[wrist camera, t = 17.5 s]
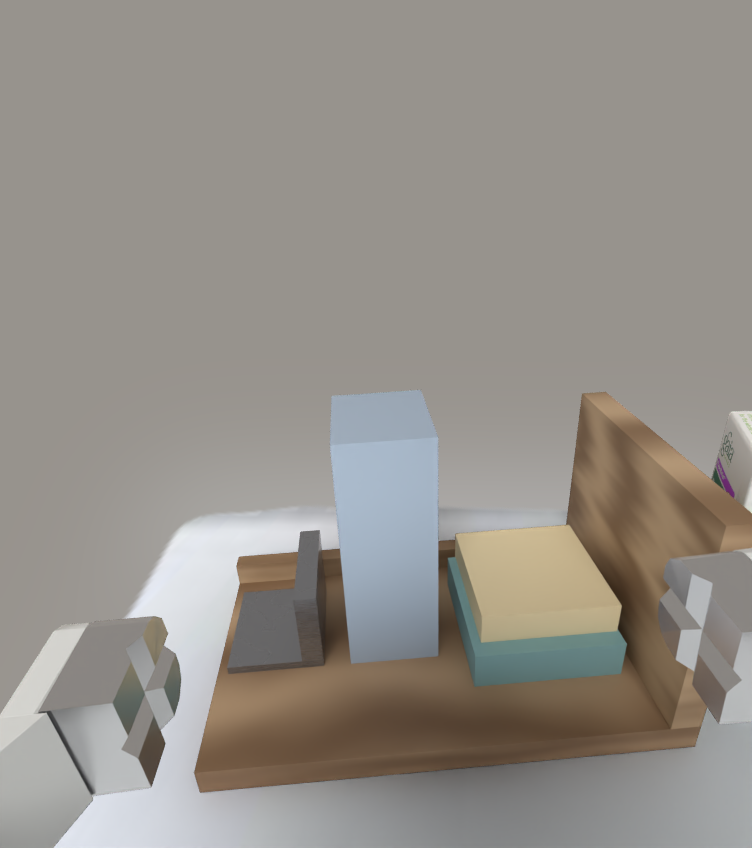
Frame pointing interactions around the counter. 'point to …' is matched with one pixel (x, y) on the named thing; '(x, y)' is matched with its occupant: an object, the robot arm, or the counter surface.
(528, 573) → the book stack
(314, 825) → the counter surface
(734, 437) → the syrup box
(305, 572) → the bookend
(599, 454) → the shelf
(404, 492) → the light blue upright block
